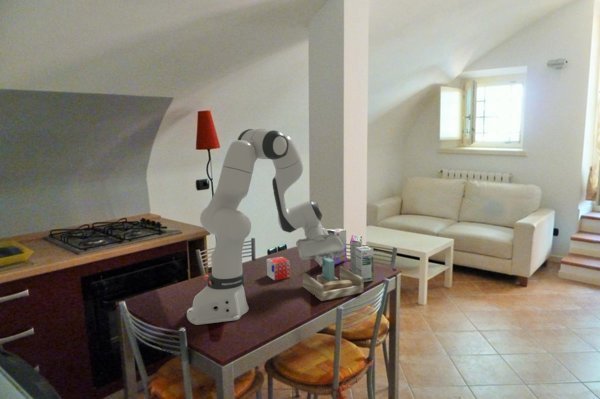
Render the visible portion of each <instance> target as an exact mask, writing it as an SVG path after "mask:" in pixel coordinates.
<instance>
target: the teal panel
mask: <svg viewBox="0 0 600 399" xmlns="http://www.w3.org/2000/svg"><path fill="white" fill-rule="evenodd" d="M322 261H323V263H324V266H321V268H322V273H321V275H322V276H323V278H324V279H326V280H327V281H328V282H329V281H334V276H335V265H334V261H333V260H332V259H330V258H328V257H325V258H322Z"/></svg>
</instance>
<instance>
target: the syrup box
mask: <svg viewBox="0 0 600 399" xmlns="http://www.w3.org/2000/svg"><path fill="white" fill-rule="evenodd" d="M356 274H357V275H359V276H361V277H362V278H363V283H365V282H366V283H367V282H372V281H374V248H372V247H370V246H367V245H365V246H362V247H356Z"/></svg>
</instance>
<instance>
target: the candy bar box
mask: <svg viewBox="0 0 600 399" xmlns="http://www.w3.org/2000/svg"><path fill="white" fill-rule="evenodd" d="M349 246H350V247H349V252H350V253H349V255H350V257H349V258H350V271H352V272H353V273H355V274H356V247H363V235H362V234H361V235H360V234H358V235H357V234H356V235H355V234H352V235H351V236H350V242H349Z"/></svg>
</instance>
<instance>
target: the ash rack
mask: <svg viewBox="0 0 600 399" xmlns="http://www.w3.org/2000/svg"><path fill="white" fill-rule="evenodd" d="M341 280H350V281H351V282H352V285H353V286H351V287H346V288H341V289H336V290H331V291H326V292H324V285H322V284H321V282H328V281H327V280H326V279H324V278H323V276H322V274H319V275H316V279H315V278H314V277H312V276H311V275H309V274H307V273H306V272H302V287H303V288H304V289H305V290H306V291H307V292H308V293H309V292H310V294H312V295H313V296H314V295H315V297H316V298H317V299H318V300H320V301H321V302H323V301H327V300H333V299H338V298H342V297H347V296H352V295H357V294H362V293H364V282H363V278H362V277H361V276H359V275H357V274H355V273H353V272H352V271H351V269H348V268H346V267H345V266H339V278H338V277H336V275H334V281H341Z"/></svg>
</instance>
